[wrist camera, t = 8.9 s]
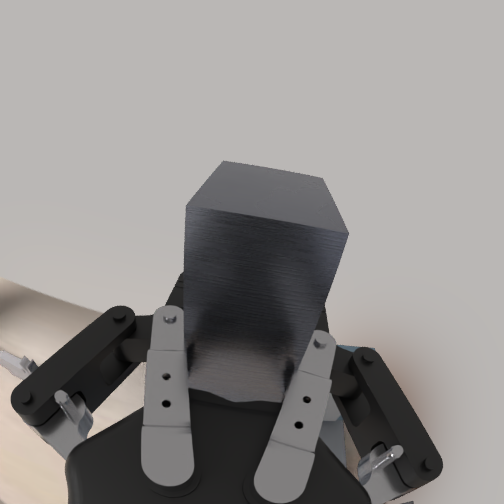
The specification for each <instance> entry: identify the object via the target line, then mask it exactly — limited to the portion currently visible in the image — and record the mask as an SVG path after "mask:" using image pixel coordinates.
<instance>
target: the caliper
mask: <svg viewBox="0 0 504 504" xmlns="http://www.w3.org/2000/svg"><path fill="white" fill-rule="evenodd" d="M0 365H2V366H3V367H5V368H7V369H8V370H9V371H10V373H11V374H12V375H14V376H16V377H18V378H19V379H22V380H24V379H26V378H27V377H28V376H29V375H30V374H31V373H33V372H34V371H35V370H36V369H37V368H38V366H37V365H36V363H35V362H34V361H33V359H32V360H31V361H29V360H28V359H27V358H26V357H25V356H24V357H23V359H20V358H18V357H15V356H14V355H12V354H10V353H8V352H6V351H3V352H2V351H1V350H0Z"/></svg>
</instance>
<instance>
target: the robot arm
mask: <svg viewBox="0 0 504 504" xmlns="http://www.w3.org/2000/svg"><path fill="white" fill-rule="evenodd" d="M141 362H147V363H146V377H145V394H144V406H143V407H142V408H140V409H139V410H137V411H135V412H134V413H132V414H130V415H129V416H127V417H125V418H123V419H122V420H120V421H118V422H117V423H115V424H113V425H111V426H110V427H108V428H106V429H104V430H103V431H101V432H99V433H97V434H95V435H94V436H92V437H90V438H88V439H87V434H88V432H89V431H90V429H91V427H92V425H93V417H92V413H93V412H94V411H95V410H96V409H97V408H98V407H99V406H100V405H101V404H102V403H103V401H104V400H105V399H106V398H107V397H108V396H109V395H110V394H111V393H112V392H113V391H114V390H115V389H116V388H117V387H118V386H119V385H120V384H121V383H122V382H123V381H124V380H125V379H126V378H127V377H128V376H129V375H130V374H131V373H132V372H133V371H134V369H135V368H136V367H137V366H138V365H139V364H140V363H141ZM329 393H331V394H332V397H333V399H334V401H335V404H336V406H337V408H338V410H339V412H340V414H341V416H342V418H343V420H344V423H345V425H346V427H347V429H348V431H349V433H350V435H351V437H352V440H353V442H354V444H355V446H356V448H357V450H358V452H359V455H360V457H361V460H360V461H359V463H358V477H359V481H358V480H357V479H356V478H355V477H354V476H353V475H352V474H351V473H350V471H349V470H348V469H347V468H346V467H345V466H344V465H343V464H342V462H341V461H340V460H339V459H338V458H337V457H336V456H335V454H334V453H333V452H332V451H331V450H330V449H329V447H328V446H327V445H326V444H325V443H324V442H323V440H322V439H321V438H320V437H319V433H320V429H321V425H322V421H323V418H324V414H325V410H326V406H327V401H328V397H329ZM11 404H12V407H13V408H14V410H15V411H16V412H17V413H18V414H19V415H20V417H21V418H22V419H23V421H24V422H25V423H26V424H27V425H28V426H29V427H30V428H31V429H32V430H33V431H34V432H35V433H36V434H37V435H38V436H40V437H41V438H42V439H43V440H44V441H45V442H46V443H47V444H49V445H51V446H52V447H53V448H54V449H55V450H56V451H57V452H58V453H59V454H60V455H61V456H62V457H63V458H64V459H65V460H66V464H65V475H66V480H67V485H68V504H384V503H386V502H387V501H391V500H395V499H397V498H399V497H401V496H403V495H405V494H407V493H410V492H411V491H413V490H415V489H417V488H419V487H421V486H423V485H425V484H427V483H429V482H431V481H432V480H434V479H435V478H437V477H438V476H439V475H440V473H441V471H442V468H443V462H442V458H441V456H440V454H439V453H438V451H437V449H436V447H435V446H434V444H433V442H432V440H431V439H430V437H429V435H428V433H427V432H426V430H425V428H424V427H423V425H422V423H421V421H420V420H419V418H418V416H417V414H416V413H415V411H414V409H413V408H412V406H411V405H410V403H409V402H408V400H407V398H406V396H405V395H404V393H403V391H402V390H401V388H400V387H399V385H398V383H397V382H396V380H395V379H394V377H393V375H392V374H391V372H390V371H389V369H388V368H387V366H386V364H385V363H384V361H383V360H382V358H381V356H380V355H379V354H378V353H377V352H376V351H375V350H373V349H371V348H368V347H360V348H357V349H356V350H355V351H354V352H351V351H348V350H346V349H343V348H341V347H339V346H337V345H336V341H335V339H334V338H333V337H332V336H331V335H330V334H329V328H328V322H327V315H326V309H325V304H324V307H323V310H322V312H321V315H320V317H319V320H318V322H317V325H316V327H315V330H314V332H313V335H312V337H311V340H310V342H309V345H308V347H307V350H306V352H305V354H304V357H303V359H298V361H297V363H296V365H295V368H294V371H293V374H292V376H291V379H290V382H289V384H288V386H287V389H286V390H285V391H284V393H283V395H282V398H281V401H280V403H279V402H270V401H262V400H260V401H247V402H233V401H230V400H227V399H225V398H222V397H220V396H218V395H215V394H213V393H211V392H207V391H202V390H198V389H193V388H188V371H187V343H186V340H184V272H183V273H182V274H180V276H179V278H178V280H177V282H176V284H175V287H174V288H173V290H172V292H171V294H170V296H169V299H168V300H167V302H166V305H165V306H163V307H160V308H158V309H157V310H156V311H155V313H154V314H153V315H147V316H135V313H134V312H133V310H132V309H131V308H129V307H126V306H115V307H112V308H110V309H109V310H107V311H106V312H105V313H104V314H102V315H101V316H100V317H99V318H97V319H96V320H95V321H94V322H92V323H91V324H90V325H89V326H87V327H86V328H85V329H84V330H82V331H81V332H80V333H79V334H78V335H76V336H75V337H74V338H73V339H72V340H70V341H69V342H68V343H67V344H65V345H64V346H63V347H62V348H61V349H59V350H58V351H57V352H56V353H55V354H54V355H52V356H51V357H50V358H49V359H48V360H46V361H45V362H44V363H43V364H42V365H41V366H39V367H38V368H37V369H36V370H35V371H34V372H33V373H31V374H30V375H29V376H28V377H27V378H26V379H24V380H23V381H22V382H21V383H20V384H19V385H18V386H17V387H16V388H15V389H14V390H13V392H12V394H11Z"/></svg>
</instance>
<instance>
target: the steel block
mask: <svg viewBox="0 0 504 504" xmlns="http://www.w3.org/2000/svg"><path fill="white" fill-rule="evenodd" d="M348 235H349V232H348V230H347V228H346V226H345V224H344V221H343V219H342V217H341V215H340V213H339V211H338V208H337V206H336V204H335V202H334V200H333V198H332V196H331V194H330V192H329V190H328V188H327V186H326V184H325V182H324V180H323V178H319V177H314V176H310V175H305V174H300V173H294V172H289V171H283V170H278V169H272V168H267V167H260V166H254V165H248V164H242V163H235V162H228V161H223V162H222V163H221V164H220V165H219V166H218V167H217V169H216V170H215V171H214V172H213V173H212V175H211V176H210V177H209V178H208V179H207V180H206V182H205V183H204V184H203V185H202V186H201V188H200V189H199V190H198V191H197V192H196V194H195V195H194V196H193V197H192V199H191V200H190V201H189V202H188V204H187V205H186V218H185V243H184V244H185V245H184V340H186V343H187V371H188V388H193V389H198V390H202V391H207V392H211V393H213V394H215V395H218V396H220V397H222V398H225V399H227V400H230V401H233V402H247V401H260V400H262V401H270V402H279V403H280V401H281V398H282V395H283V393H284V391H285V390H286V389H287V386H288V384H289V382H290V379H291V376H292V374H293V371H294V368H295V365H296V363H297V361H298V359H303V357H304V354H305V352H306V350H307V347H308V345H309V342H310V340H311V337H312V335H313V332H314V330H315V327H316V325H317V322H318V320H319V317H320V315H321V312H322V310H323V307H324V304H325V302H326V299H327V296H328V293H329V291H330V288H331V285H332V282H333V280H334V277H335V274H336V271H337V268H338V265H339V262H340V259H341V256H342V253H343V250H344V247H345V244H346V241H347V238H348Z"/></svg>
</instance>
